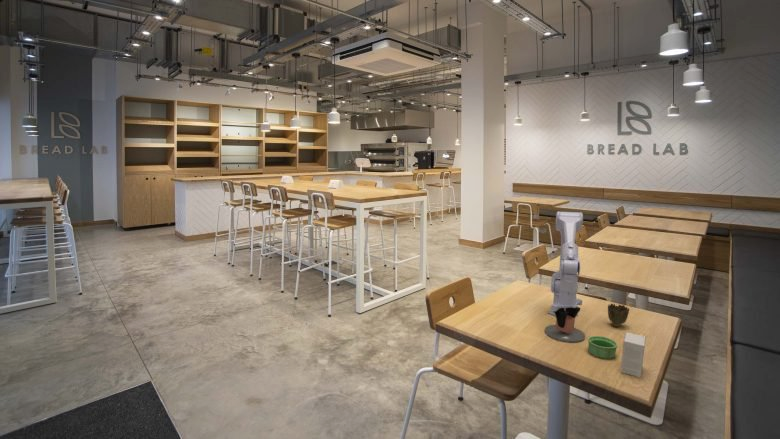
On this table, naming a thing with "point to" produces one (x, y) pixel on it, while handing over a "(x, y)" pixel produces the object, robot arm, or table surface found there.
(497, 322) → the table surface
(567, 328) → the block
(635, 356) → the small box
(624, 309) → the cup
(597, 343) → the ramekin
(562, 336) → the plate
